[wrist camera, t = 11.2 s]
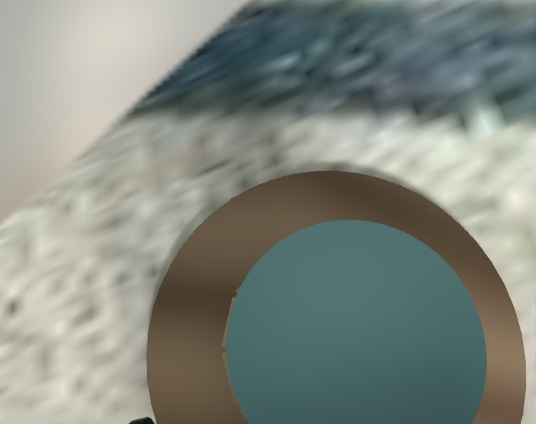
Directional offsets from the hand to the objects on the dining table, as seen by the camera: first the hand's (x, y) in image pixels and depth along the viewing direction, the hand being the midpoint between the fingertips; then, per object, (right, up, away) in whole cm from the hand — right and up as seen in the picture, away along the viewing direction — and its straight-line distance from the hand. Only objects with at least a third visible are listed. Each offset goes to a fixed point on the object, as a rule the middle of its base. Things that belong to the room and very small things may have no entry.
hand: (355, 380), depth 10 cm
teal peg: (+1, -2, +11) cm, 11 cm away
